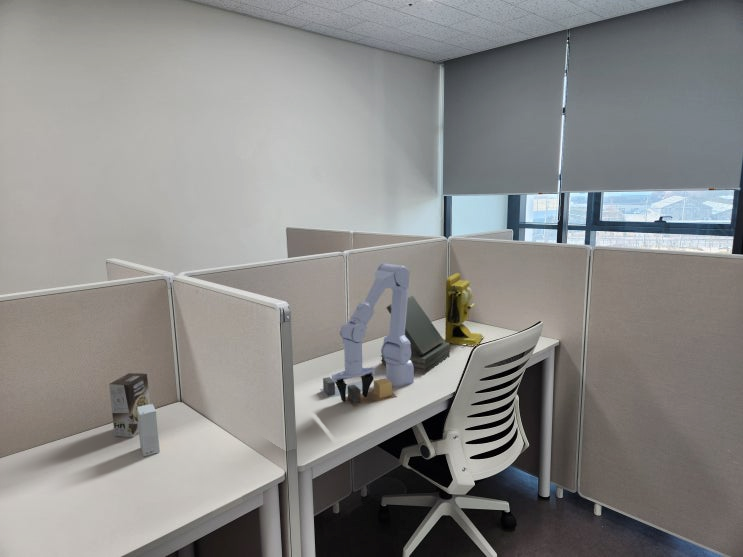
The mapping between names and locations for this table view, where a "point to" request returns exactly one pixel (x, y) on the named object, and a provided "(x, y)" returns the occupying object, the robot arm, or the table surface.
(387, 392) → the ochre block
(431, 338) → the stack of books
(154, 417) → the skincare box
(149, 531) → the table surface
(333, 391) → the grey strip
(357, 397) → the walnut strip
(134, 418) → the coffee box
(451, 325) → the vintage telephone
